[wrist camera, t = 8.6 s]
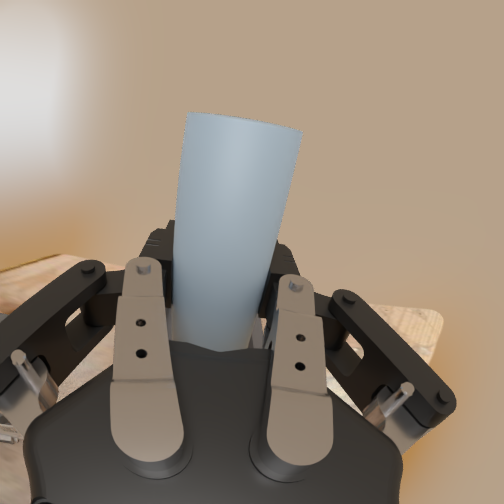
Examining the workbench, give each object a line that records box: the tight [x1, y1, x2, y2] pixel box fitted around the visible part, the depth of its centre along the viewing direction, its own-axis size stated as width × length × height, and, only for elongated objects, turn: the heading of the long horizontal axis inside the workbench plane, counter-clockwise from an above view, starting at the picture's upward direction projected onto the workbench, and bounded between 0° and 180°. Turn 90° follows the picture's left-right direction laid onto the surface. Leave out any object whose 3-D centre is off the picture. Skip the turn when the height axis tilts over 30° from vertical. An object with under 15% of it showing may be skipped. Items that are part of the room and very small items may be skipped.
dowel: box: [172, 112, 303, 352], centre depth 12 cm, size 4×4×16 cm
